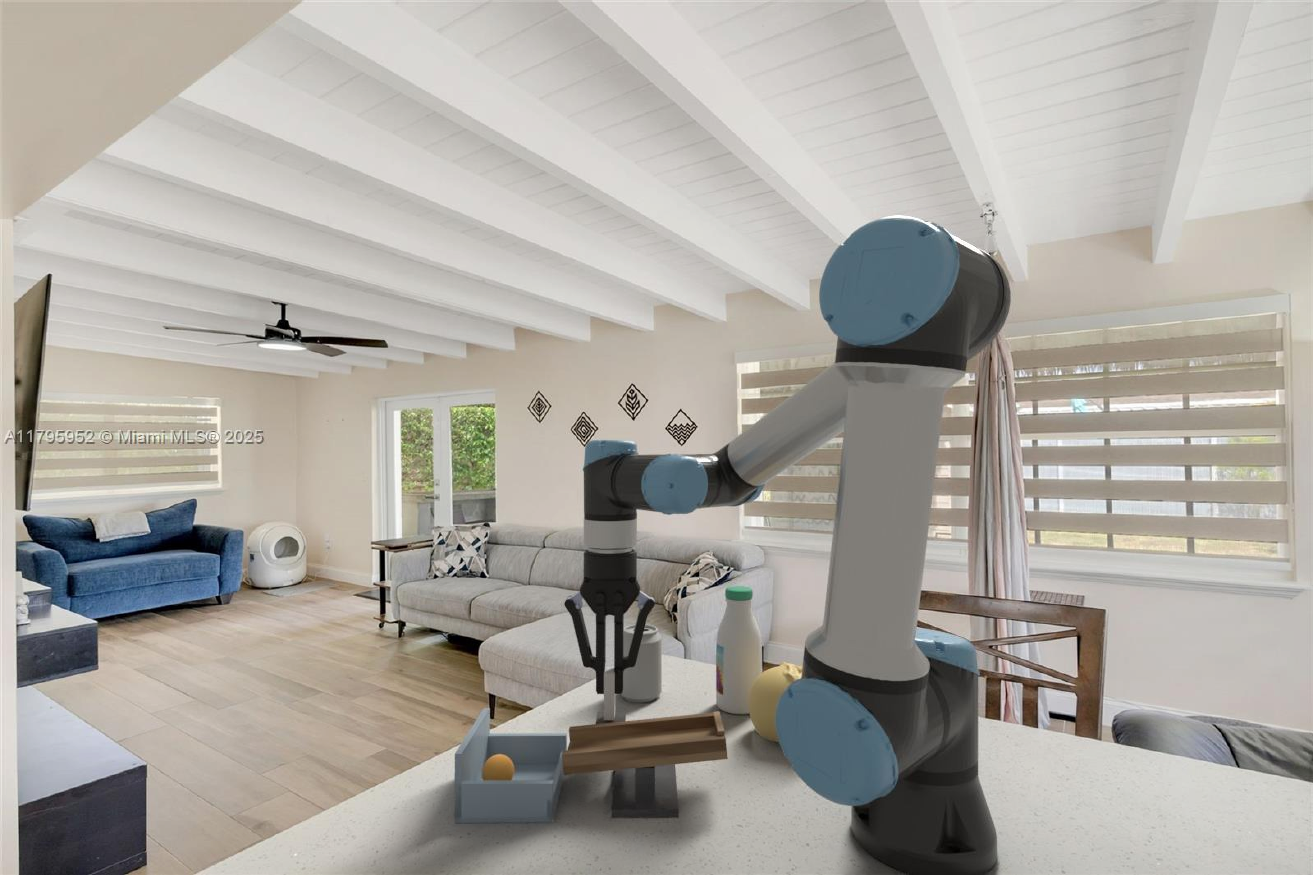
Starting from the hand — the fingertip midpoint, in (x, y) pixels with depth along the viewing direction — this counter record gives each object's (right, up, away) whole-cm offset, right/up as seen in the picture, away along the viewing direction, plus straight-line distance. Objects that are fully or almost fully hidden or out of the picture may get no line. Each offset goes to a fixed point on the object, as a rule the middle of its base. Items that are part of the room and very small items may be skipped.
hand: (609, 716), depth 93 cm
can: (+4, -7, +23) cm, 24 cm away
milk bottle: (+21, -6, +18) cm, 28 cm away
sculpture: (+27, -6, +7) cm, 28 cm away
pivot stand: (+5, -6, -9) cm, 12 cm away
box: (-11, -6, -9) cm, 16 cm away
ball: (-13, -3, -9) cm, 17 cm away
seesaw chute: (+5, -1, -5) cm, 7 cm away
